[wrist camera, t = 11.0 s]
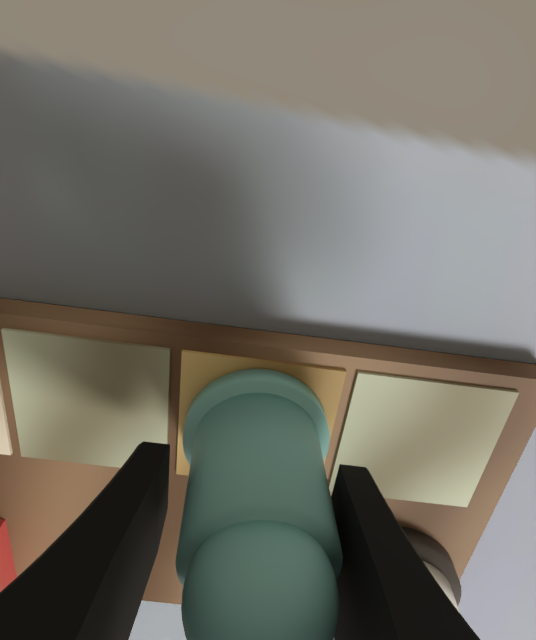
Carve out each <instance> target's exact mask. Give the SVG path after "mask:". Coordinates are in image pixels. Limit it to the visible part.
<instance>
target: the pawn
mask: <svg viewBox="0 0 536 640" xmlns="http://www.w3.org/2000/svg"><path fill="white" fill-rule="evenodd" d="M329 442H330V434H329V427H328V423H327V419H326V415H325V412H324V408H323V406H322V404H321V402H320V400H319V398H318V397H317V395H316V394H315V393H314V392H313V391H312V390H311V389H310V388H309V387H308V386H307V385H306V384H304V383H303V382H302V381H300V380H298V379H297V378H295V377H293V376H290V375H288V374H286V373H282V372H279V371H274V370H269V369H246V370H240V371H236V372H232V373H229V374H226V375H224V376H221V377H219V378H217V379H216V380H214V381H212V382H211V383H209V384H208V385H207V386H205V387H204V388H203V389H202V390H201V391H200V392H199V393H198V394H197V396H196V397H195V398H194V399H193V401H192V403H191V405H190V407H189V409H188V412H187V416H186V421H185V426H184V432H183V450H184V454H185V457H186V459H187V461H188V463H189V465H190V470H189V476H188V483H187V490H186V496H185V503H184V509H183V516H182V522H181V529H180V535H179V542H178V548H177V555H176V572H177V576H178V578H179V581H180V583H181V584H182V586H183V591H182V607H181V610H182V621H183V626H184V631H185V636H186V639H187V640H333V639H334V635H335V632H336V628H337V623H338V617H339V594H338V586H337V581H336V580H337V578H338V576H339V574H340V572H341V568H342V563H343V555H342V549H341V544H340V539H339V534H338V529H337V524H336V520H335V515H334V510H333V505H332V500H331V495H330V490H329V486H328V481H327V476H326V471H325V466H324V459H325V457H326V455H327V452H328V448H329Z"/></svg>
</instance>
